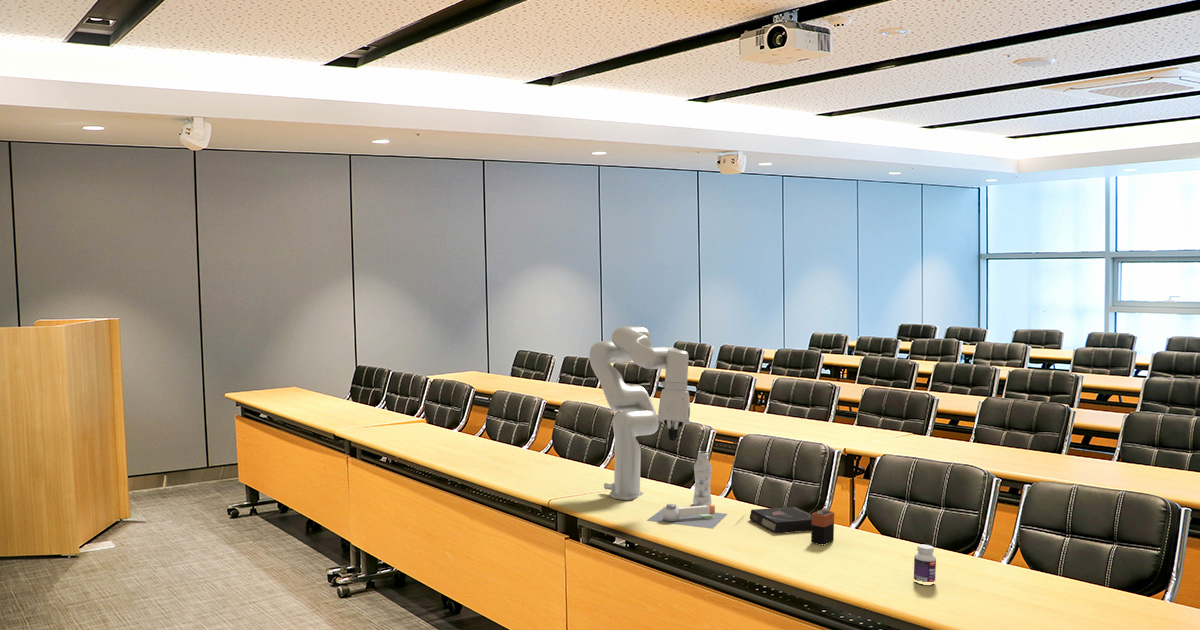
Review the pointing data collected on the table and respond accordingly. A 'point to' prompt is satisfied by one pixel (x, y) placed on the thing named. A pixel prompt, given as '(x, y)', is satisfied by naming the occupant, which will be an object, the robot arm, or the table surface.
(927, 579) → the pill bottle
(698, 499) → the plastic bottle
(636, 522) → the table surface
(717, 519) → the dial board
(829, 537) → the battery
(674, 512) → the white bar with knob
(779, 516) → the flat black box
